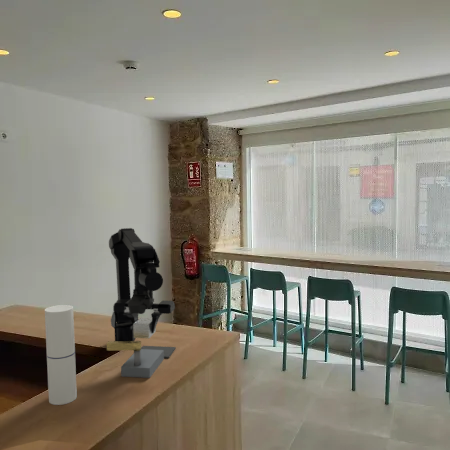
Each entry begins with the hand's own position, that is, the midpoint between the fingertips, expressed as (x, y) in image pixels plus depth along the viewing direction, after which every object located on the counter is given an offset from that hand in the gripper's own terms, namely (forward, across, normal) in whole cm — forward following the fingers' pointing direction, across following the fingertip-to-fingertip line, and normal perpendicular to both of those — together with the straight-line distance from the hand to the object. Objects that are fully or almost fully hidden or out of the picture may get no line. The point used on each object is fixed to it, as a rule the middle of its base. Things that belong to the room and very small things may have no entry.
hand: (144, 332), depth 141 cm
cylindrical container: (+11, -15, -25) cm, 31 cm away
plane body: (+11, 0, -2) cm, 11 cm away
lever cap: (+1, 0, 0) cm, 1 cm away
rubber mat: (+11, 0, +11) cm, 15 cm away
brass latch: (+3, -4, -8) cm, 9 cm away
